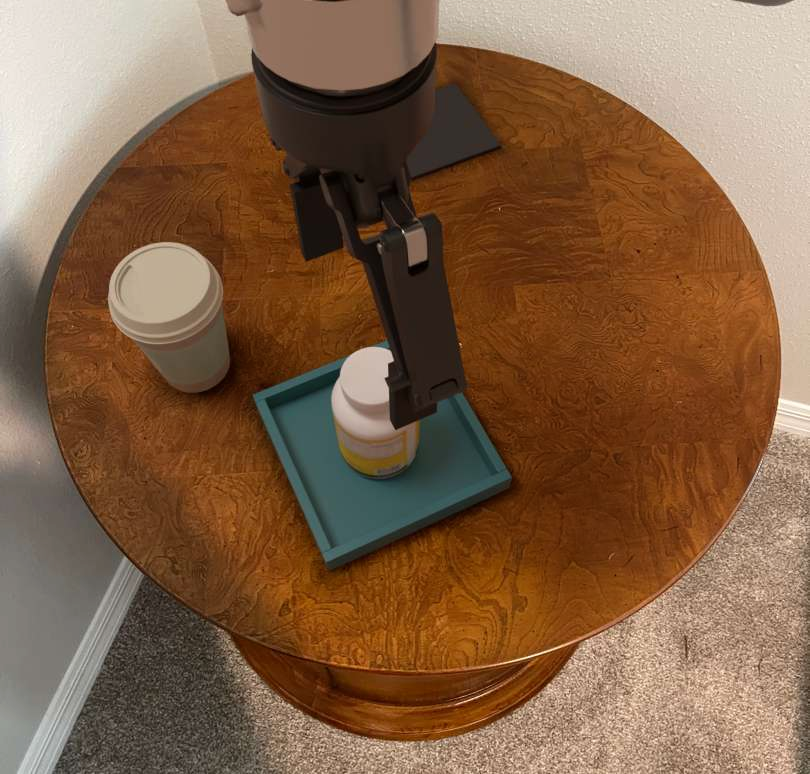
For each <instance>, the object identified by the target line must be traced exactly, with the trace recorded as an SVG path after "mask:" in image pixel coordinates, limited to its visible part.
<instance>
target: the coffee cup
mask: <svg viewBox="0 0 810 774" xmlns="http://www.w3.org/2000/svg"><path fill="white" fill-rule="evenodd" d="M108 285H109V286H108V294H107V296H108V297H107V303H108V309H109V312H110V316H111V319H112V320H113V323H114V324H115V326H116V327H117V329H118V330H119V331H120V332H121V333H123V334H124V335H125V336H127V337H128V338H131V339H132V340H133V342H134V343H135V344H136V346H137V347H138V348H139V349H140V350H141V351H142V353H143V354H144V355H145V356H146V358H147V359H148V360H149V362H150V363H151V364H152V365H153V366H154V367H155V369H156V370H157V371H158V373H159V374H160V375H161V376H162V377H163V379H164V380H165V381H166V382H167V383H168V384H169V385H170V386H171V387H172V388H174V389H175V390H177V391H180V392H183V393H187V394H188V393H189V394H193V393H195V394H197V393H201V392H205V391H208V390H210V389H212V388H214V387H215V386H217V385H218V384H220V382H222V380H224V378H225V377H226V375H227V374H228V371H229V368H230V365H231V355H230V349H229V348H230V347H229V341H228V336H227V335H228V334H227V329H226V322H225V315H224V310H223V309H224V308H223V296H224V287H223V282H222V278H221V276H220V274H219V272H218V271H217V269H216V268H215V266H214V265H213V264H212V262H211V261H210V260H208V258H207V257H205V256H203V255H202V254H201V253H200V252H199V251H197V250H196V249H194V247H191V246H189V245H187V244H183V243H179V242H172V241H164V242H163V241H161V242H156V243H155V242H154V243H151V244H147V245H144V246H141V247H139V248H137V249H135V250H134V251H132V252H130V253H129V254H128V255H126V256H125V257H124V258H123V259H122V260H121V261H119V263H118V264H117V266H116V267H115V268H114V270H113V272H112V274H111V276H110V279H109V284H108Z"/></svg>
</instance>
